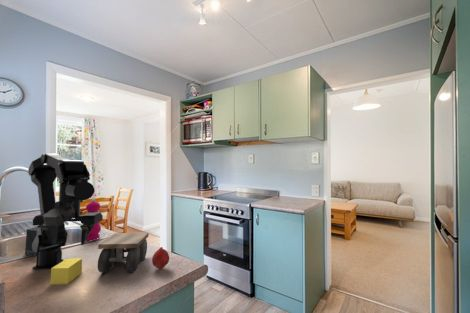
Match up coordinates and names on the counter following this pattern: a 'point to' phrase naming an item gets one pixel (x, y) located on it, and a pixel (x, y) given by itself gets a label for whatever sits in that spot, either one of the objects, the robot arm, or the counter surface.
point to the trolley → (122, 250)
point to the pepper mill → (94, 208)
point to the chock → (66, 271)
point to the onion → (160, 258)
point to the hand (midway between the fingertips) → (68, 244)
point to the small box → (30, 240)
